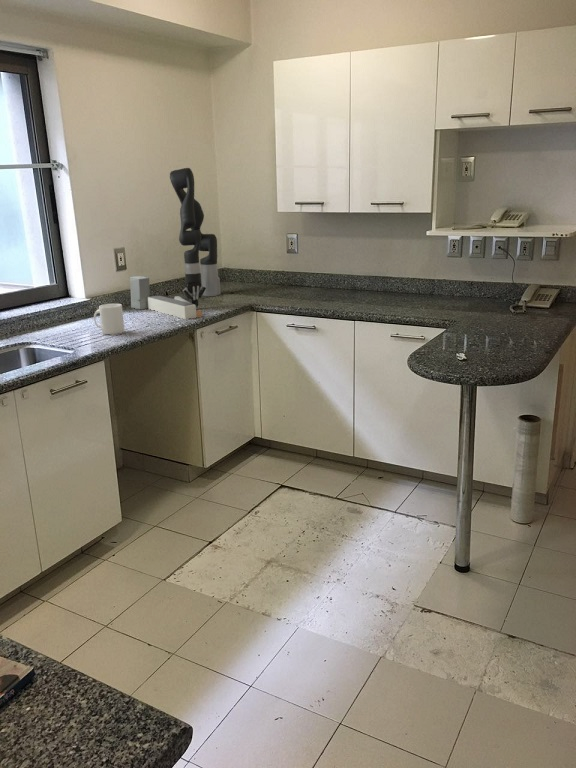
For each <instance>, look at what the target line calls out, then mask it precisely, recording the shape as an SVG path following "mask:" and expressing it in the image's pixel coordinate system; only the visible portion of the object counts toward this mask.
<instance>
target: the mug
mask: <svg viewBox="0 0 576 768" xmlns="http://www.w3.org/2000/svg"><path fill="white" fill-rule="evenodd" d="M123 313H124V312H123V304H121V303H105V304H101V305H99V306H98V309H96V311H95V312H94V314H93V321H94V324H95V326H96V327H97V328H99V329H101V332H102V334H104V335H106V334H114V335H118V333H120V334H122V332H123V333H124V332H125V324H124V321H125V320H124V314H123ZM98 314H99V320H100V325H99V324H98V322H97V315H98Z"/></svg>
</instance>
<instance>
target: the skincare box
mask: <svg viewBox="0 0 576 768" xmlns="http://www.w3.org/2000/svg"><path fill="white" fill-rule="evenodd" d="M129 283H130V284H129V285H130V286H129V287H130V307H131V309H134V308H135V309H136V310H140V309H141V310H145V308H148V309H149V307H148V297H151V291H150V290H151V288H150V277H146V276H142V275H141V276H140V275H137V276H130V277H129Z"/></svg>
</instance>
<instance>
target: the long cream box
mask: <svg viewBox="0 0 576 768" xmlns="http://www.w3.org/2000/svg"><path fill="white" fill-rule="evenodd" d="M188 302H189V301H188ZM188 302H184V301H180V300H175V299H174V298H171V297H167V296H163V295H160V294H159V295H152V296H151V295H150V297H148V307H149V308H148V310H150V309H151V311H153V310H155V311H154V312H157V311H158V313H161V312H162V314H164V313H165V314H164V315H168V314H169V316H171V315H173V316H172V317H175V316H177V317H176V318H178V317H180V319H182V318H183V320H190V319H189V318H191V319H196V317H197V318H201V317H203V313H202V309H197V307H196V305H194V304H192V302H190V303H188Z"/></svg>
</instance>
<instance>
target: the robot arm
mask: <svg viewBox="0 0 576 768" xmlns="http://www.w3.org/2000/svg"><path fill="white" fill-rule="evenodd" d="M169 179H170V183H171V185H172V188H173V189H174V192H175V194H176V196H177V199H178V200H179V202H180V209H179V210H180V211H179V215H180V231H179V236H178V240H179V243H180V245H182V246H185V247H187V246H193V247H192V249H189V250H185V251H184V252H183V258H184V259H183V260H184V277H185V279H184V280H185V288H184V289H181V292H182V294H183V295H184V296H185V298H187V299H188V300H191V303H192V304H194V305H196V308H198V306H199V299H201V298H202V297H217V296H220V295H221V279H220V277H219V272H218V271H219V270H218V239H217V235H215V234H214V233H202V231H201V227H202V224H203V223H204V218H205V215H204V211H203V208H202V205H201V203H200V202H199V201H198V200H197V199H195V177H194V173H193V171H192V169H191V168H190V167H185V168H179V169H175V170H171V171H170V172H169ZM184 189H187V190H186V191H185V190H184ZM188 229H189V230H188ZM199 252H208V254H207V256H205V257H202V258H200V255H199V254H200V253H199Z"/></svg>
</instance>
